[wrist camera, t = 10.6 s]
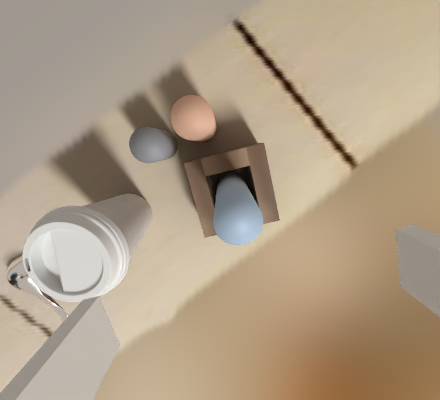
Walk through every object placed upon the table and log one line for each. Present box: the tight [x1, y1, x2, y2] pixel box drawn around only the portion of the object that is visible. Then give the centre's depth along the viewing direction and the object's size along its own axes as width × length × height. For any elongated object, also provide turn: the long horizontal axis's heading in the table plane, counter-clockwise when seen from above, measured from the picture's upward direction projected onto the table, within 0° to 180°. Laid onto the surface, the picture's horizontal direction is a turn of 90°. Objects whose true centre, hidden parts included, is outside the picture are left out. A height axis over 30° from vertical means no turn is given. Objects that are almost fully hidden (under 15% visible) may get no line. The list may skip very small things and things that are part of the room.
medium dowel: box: [170, 95, 217, 142], centre depth 27 cm, size 4×4×11 cm
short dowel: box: [129, 127, 177, 163], centre depth 29 cm, size 4×4×7 cm
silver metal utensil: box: [6, 255, 69, 322], centre depth 38 cm, size 20×4×5 cm
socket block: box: [184, 143, 279, 237], centre depth 32 cm, size 10×10×5 cm
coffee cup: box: [22, 193, 152, 302], centre depth 28 cm, size 10×10×15 cm
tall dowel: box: [213, 172, 263, 245], centre depth 26 cm, size 4×4×16 cm
